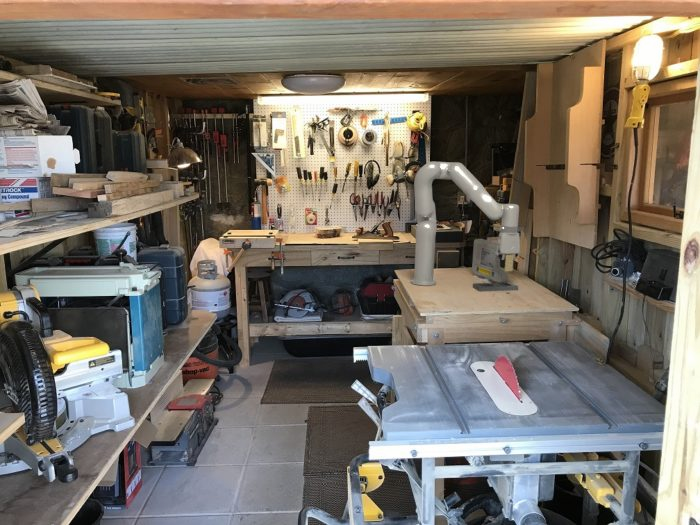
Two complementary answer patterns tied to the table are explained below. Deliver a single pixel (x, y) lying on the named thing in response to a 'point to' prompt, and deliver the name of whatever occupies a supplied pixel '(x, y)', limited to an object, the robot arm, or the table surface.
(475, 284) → the grey flat plate
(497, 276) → the network device
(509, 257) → the brass block
